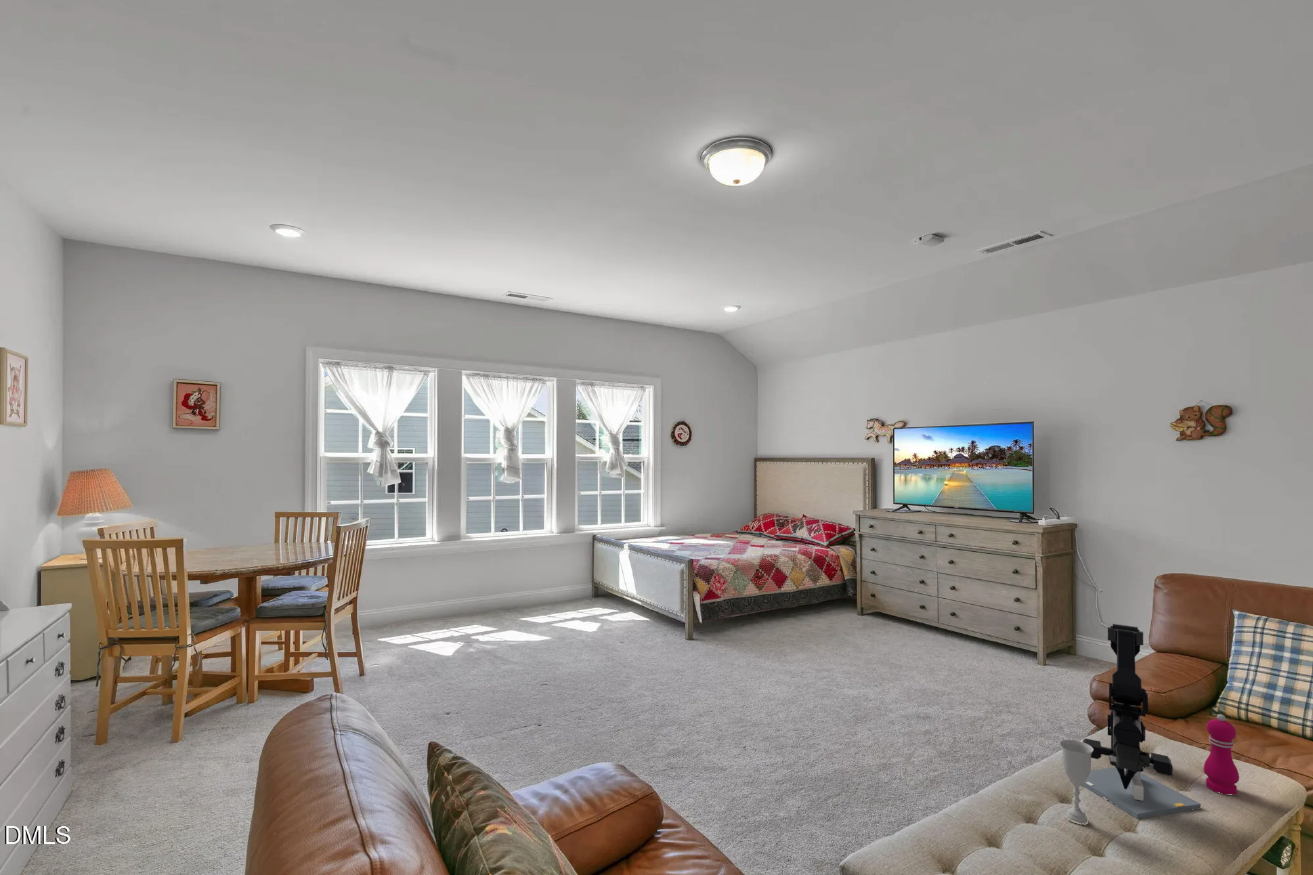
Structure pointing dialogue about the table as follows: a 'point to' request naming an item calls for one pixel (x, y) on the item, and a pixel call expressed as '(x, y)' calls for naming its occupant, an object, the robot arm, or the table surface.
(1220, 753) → the pepper mill
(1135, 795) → the lock lever
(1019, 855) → the table surface
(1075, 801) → the chalice
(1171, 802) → the mount board
